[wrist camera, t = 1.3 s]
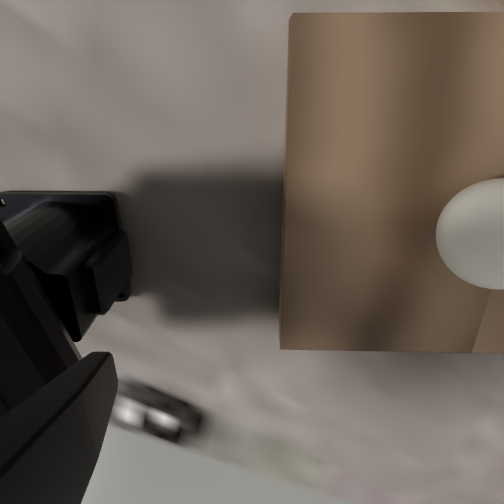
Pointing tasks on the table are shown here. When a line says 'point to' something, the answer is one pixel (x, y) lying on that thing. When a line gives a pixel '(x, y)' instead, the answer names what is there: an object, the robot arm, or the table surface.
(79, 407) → the robot arm
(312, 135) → the board
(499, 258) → the ball
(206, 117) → the table surface
